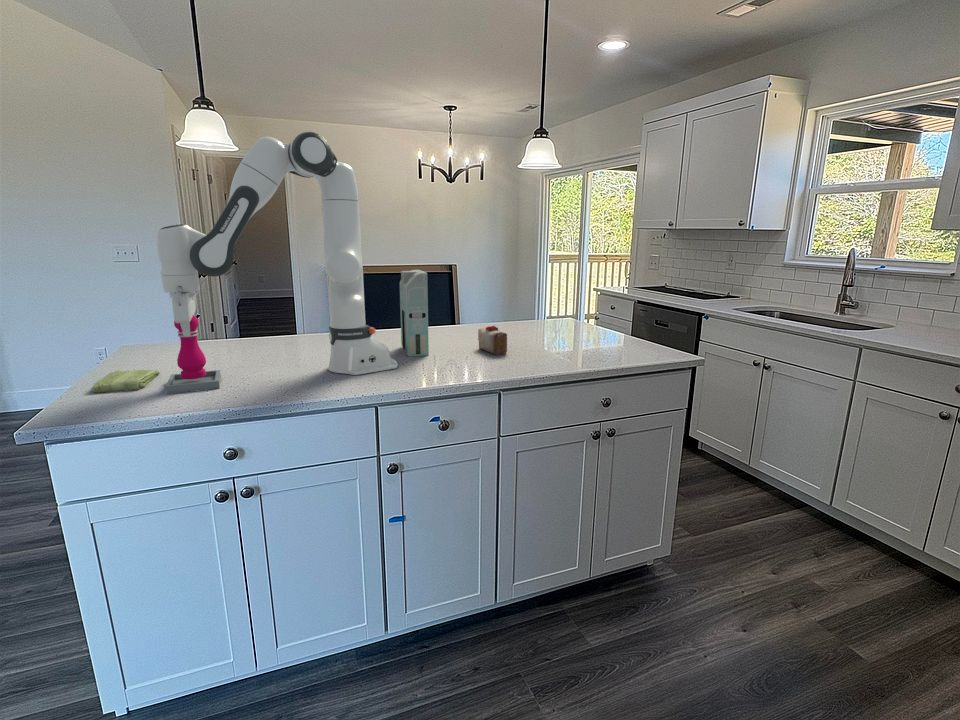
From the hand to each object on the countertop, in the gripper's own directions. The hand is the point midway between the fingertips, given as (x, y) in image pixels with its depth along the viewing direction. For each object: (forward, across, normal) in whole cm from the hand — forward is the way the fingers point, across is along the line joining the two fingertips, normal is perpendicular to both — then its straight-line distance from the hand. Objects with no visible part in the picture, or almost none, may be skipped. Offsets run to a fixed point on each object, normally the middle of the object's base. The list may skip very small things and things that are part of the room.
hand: (188, 333), depth 141 cm
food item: (+16, +4, -99) cm, 101 cm away
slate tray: (+15, 0, 0) cm, 15 cm away
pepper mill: (+13, 0, 0) cm, 13 cm away
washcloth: (+16, +10, +18) cm, 26 cm away
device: (+15, +16, -72) cm, 75 cm away
